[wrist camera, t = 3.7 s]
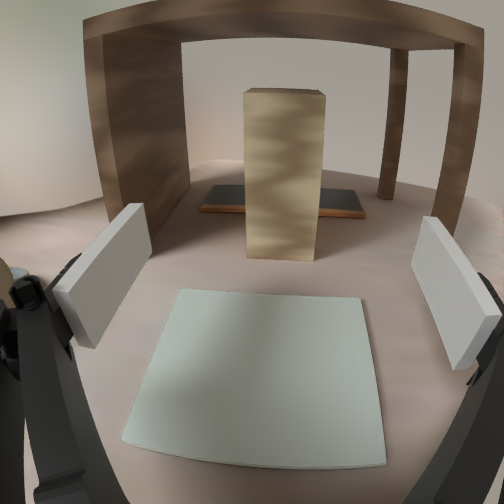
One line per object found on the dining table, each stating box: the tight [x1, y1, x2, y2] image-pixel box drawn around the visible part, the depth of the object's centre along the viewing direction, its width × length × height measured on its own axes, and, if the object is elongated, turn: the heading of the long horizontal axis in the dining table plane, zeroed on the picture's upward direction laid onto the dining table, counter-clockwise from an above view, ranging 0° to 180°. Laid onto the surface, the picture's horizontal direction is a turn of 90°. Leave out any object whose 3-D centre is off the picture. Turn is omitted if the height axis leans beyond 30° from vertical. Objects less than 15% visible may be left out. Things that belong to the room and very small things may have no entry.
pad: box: [120, 288, 387, 469], centre depth 16 cm, size 12×11×1 cm
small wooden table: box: [83, 0, 484, 241], centre depth 24 cm, size 25×16×18 cm, turn 84°
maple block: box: [243, 88, 326, 261], centre depth 23 cm, size 5×5×12 cm
